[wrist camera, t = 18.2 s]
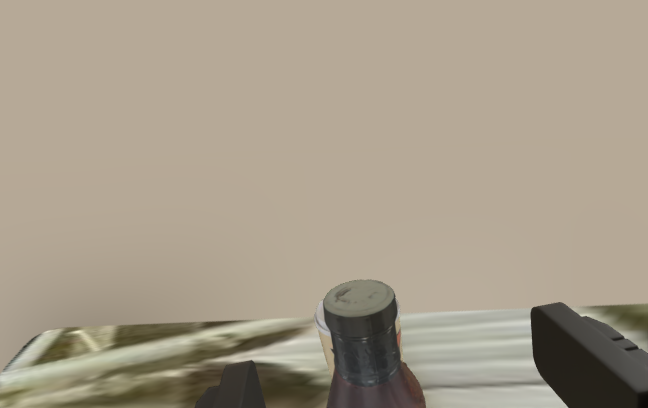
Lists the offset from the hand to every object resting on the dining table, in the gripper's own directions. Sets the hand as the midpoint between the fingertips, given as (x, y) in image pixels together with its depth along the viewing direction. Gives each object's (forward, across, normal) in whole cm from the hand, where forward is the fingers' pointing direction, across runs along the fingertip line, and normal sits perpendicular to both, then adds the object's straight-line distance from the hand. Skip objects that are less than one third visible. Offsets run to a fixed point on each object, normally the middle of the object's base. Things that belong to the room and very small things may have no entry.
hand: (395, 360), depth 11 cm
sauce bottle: (+10, 0, +23) cm, 25 cm away
